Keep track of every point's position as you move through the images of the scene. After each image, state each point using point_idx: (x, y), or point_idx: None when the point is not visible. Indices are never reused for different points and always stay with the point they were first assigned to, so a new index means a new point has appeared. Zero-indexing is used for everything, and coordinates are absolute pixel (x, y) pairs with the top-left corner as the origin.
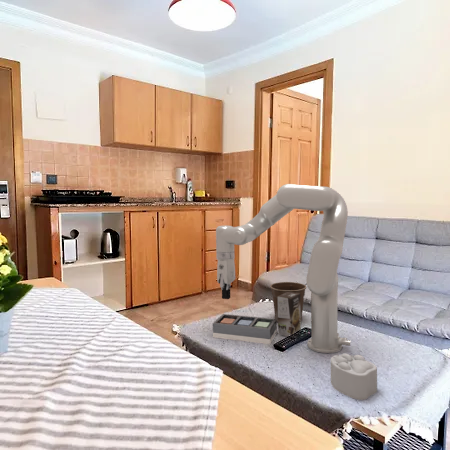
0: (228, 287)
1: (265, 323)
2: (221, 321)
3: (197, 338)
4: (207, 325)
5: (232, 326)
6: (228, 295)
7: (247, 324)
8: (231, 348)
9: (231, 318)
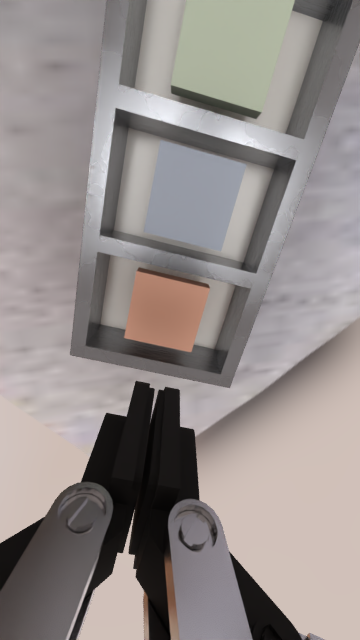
0: (171, 545)
1: (215, 4)
2: (180, 347)
3: (228, 403)
4: (87, 390)
5: (268, 277)
6: (178, 423)
7: (232, 176)
8: (344, 258)
9: (96, 297)
